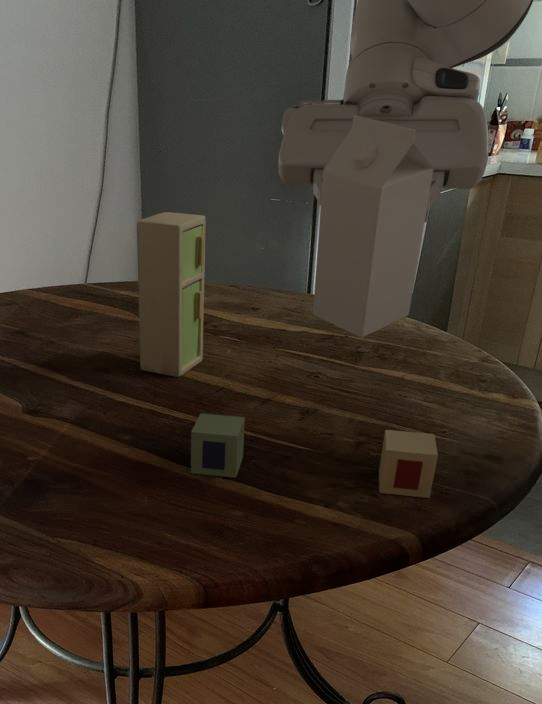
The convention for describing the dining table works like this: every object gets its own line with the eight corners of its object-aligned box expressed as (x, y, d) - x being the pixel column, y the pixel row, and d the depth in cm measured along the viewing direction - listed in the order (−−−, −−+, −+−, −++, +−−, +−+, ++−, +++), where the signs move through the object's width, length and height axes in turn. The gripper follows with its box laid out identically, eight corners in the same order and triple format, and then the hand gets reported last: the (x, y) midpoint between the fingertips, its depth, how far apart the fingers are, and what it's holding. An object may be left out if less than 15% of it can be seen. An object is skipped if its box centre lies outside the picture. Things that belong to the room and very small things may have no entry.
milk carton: (358, 294, 82) (380, 107, 69) (408, 316, 77) (442, 121, 65) (312, 315, 79) (326, 123, 66) (361, 339, 75) (387, 139, 62)
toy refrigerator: (183, 379, 105) (183, 224, 94) (139, 370, 108) (134, 220, 98) (208, 362, 111) (211, 215, 100) (165, 354, 114) (164, 211, 104)
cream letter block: (426, 475, 79) (434, 433, 77) (429, 499, 75) (438, 455, 72) (378, 471, 80) (385, 429, 78) (379, 493, 76) (385, 450, 74)
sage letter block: (242, 457, 84) (244, 417, 81) (235, 478, 79) (237, 436, 77) (199, 453, 85) (200, 413, 82) (190, 473, 80) (190, 432, 78)
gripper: (284, 77, 75) (267, 194, 72) (497, 75, 71) (489, 199, 68) (286, 123, 81) (269, 233, 78) (482, 124, 77) (473, 240, 74)
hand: (373, 217), depth 73 cm, fingers closed on milk carton, 7 cm apart
